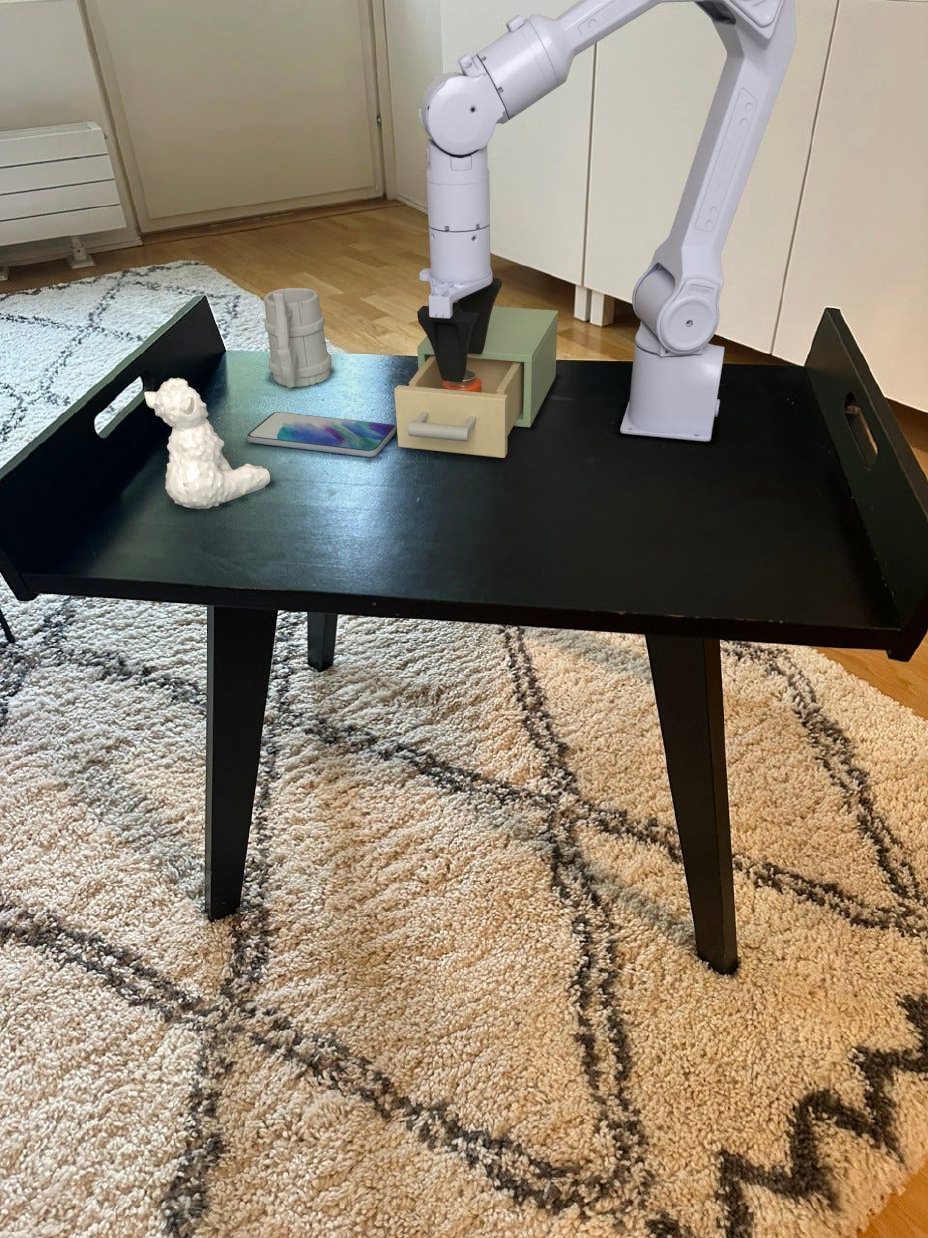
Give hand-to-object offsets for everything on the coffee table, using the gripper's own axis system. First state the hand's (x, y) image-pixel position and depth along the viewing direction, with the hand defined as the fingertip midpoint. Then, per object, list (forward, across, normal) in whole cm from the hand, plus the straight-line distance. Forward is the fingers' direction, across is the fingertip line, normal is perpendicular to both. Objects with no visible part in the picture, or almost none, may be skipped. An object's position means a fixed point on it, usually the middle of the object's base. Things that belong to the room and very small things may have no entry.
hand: (463, 365), depth 91 cm
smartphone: (+8, +4, -15) cm, 17 cm away
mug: (+8, -10, -24) cm, 28 cm away
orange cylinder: (+6, 0, 0) cm, 6 cm away
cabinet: (+8, -12, 0) cm, 14 cm away
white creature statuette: (+8, +18, -21) cm, 29 cm away
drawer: (+7, +1, 0) cm, 7 cm away
